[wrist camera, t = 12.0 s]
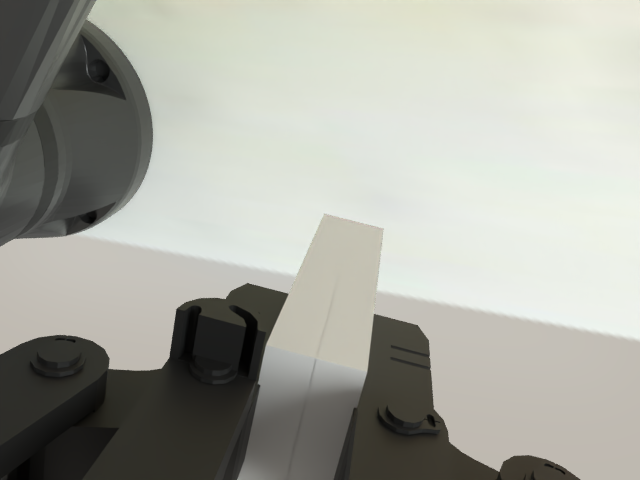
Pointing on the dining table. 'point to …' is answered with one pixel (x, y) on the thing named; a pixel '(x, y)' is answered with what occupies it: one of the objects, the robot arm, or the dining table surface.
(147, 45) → the dining table surface
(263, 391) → the robot arm
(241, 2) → the dining table surface
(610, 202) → the dining table surface
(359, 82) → the dining table surface
